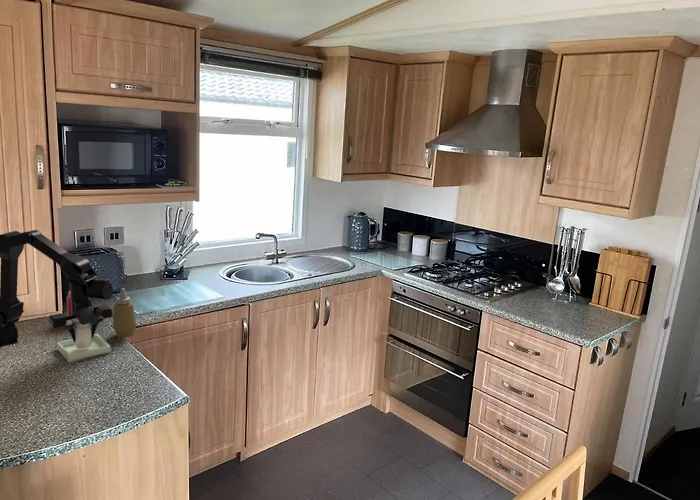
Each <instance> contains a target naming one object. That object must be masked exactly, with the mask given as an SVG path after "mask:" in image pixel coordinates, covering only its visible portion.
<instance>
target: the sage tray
mask: <svg viewBox="0 0 700 500" xmlns="http://www.w3.org/2000/svg"><path fill="white" fill-rule="evenodd" d="M56 346H57V351H59V353H60V354H61V356H62V357H64V359H65V360H66V361H67V363H68V364H70V363H75V362H79V361H83V360H88V359H91V358H95V357H99V356H102V355H109V354H111V353H112V350H111V349H112V348H111V347H112V346H111V345H110V344H109V343H108V342H107V341H106V340H105V339H103V337H102V336H101V335H100V334H98V333H94V336H93V338H92V345H91V346H90V347H87V348H76V347H75V342H74V341H73V339H72V338H71V339H67V340H61V341H58V342H57V343H56Z"/></svg>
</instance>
